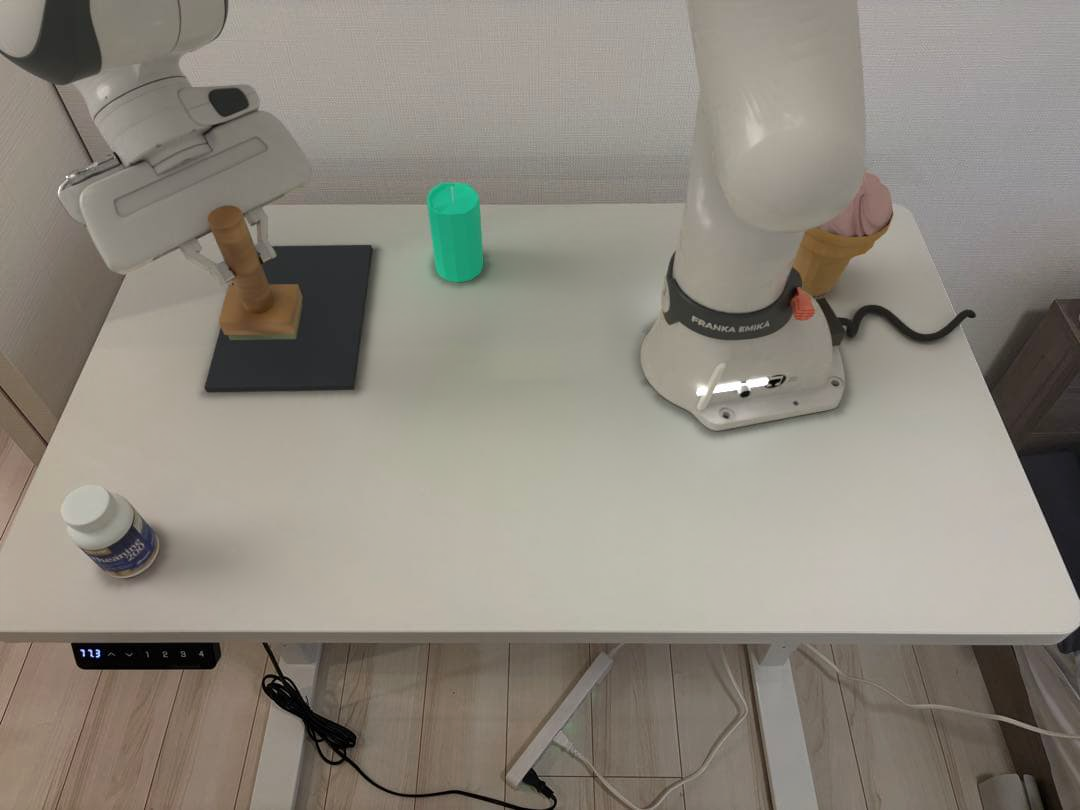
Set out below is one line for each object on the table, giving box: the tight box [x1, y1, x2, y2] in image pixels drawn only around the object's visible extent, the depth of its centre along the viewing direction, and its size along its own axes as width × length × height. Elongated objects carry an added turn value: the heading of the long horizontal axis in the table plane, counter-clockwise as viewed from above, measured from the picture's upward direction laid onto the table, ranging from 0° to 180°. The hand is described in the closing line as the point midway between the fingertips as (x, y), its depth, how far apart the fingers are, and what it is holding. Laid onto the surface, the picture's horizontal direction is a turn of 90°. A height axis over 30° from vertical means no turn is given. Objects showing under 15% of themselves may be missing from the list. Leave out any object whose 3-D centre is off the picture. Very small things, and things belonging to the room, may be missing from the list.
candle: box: [426, 182, 485, 283], centre depth 93 cm, size 6×6×12 cm
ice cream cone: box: [793, 167, 894, 297], centre depth 89 cm, size 11×11×20 cm
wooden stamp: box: [207, 205, 303, 340], centre depth 75 cm, size 7×5×14 cm
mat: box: [204, 244, 373, 393], centre depth 93 cm, size 16×22×1 cm
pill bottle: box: [60, 484, 160, 579], centre depth 71 cm, size 5×5×10 cm
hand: (248, 271), depth 74 cm, fingers closed on wooden stamp, 3 cm apart
